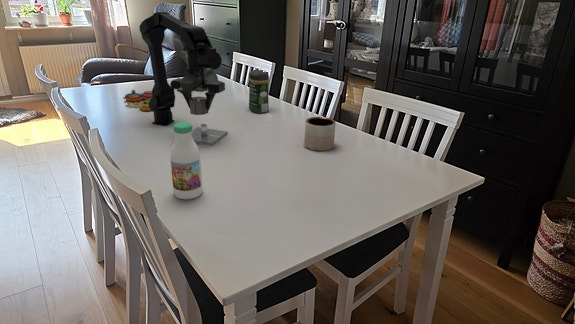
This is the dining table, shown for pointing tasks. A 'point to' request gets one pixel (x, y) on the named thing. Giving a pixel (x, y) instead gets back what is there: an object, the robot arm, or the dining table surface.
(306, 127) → the planter
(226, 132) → the mounting plate
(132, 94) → the gear puzzle
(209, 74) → the stuffed elephant
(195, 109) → the knob
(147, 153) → the dining table surface
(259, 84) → the coffee jar
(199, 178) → the milk bottle
